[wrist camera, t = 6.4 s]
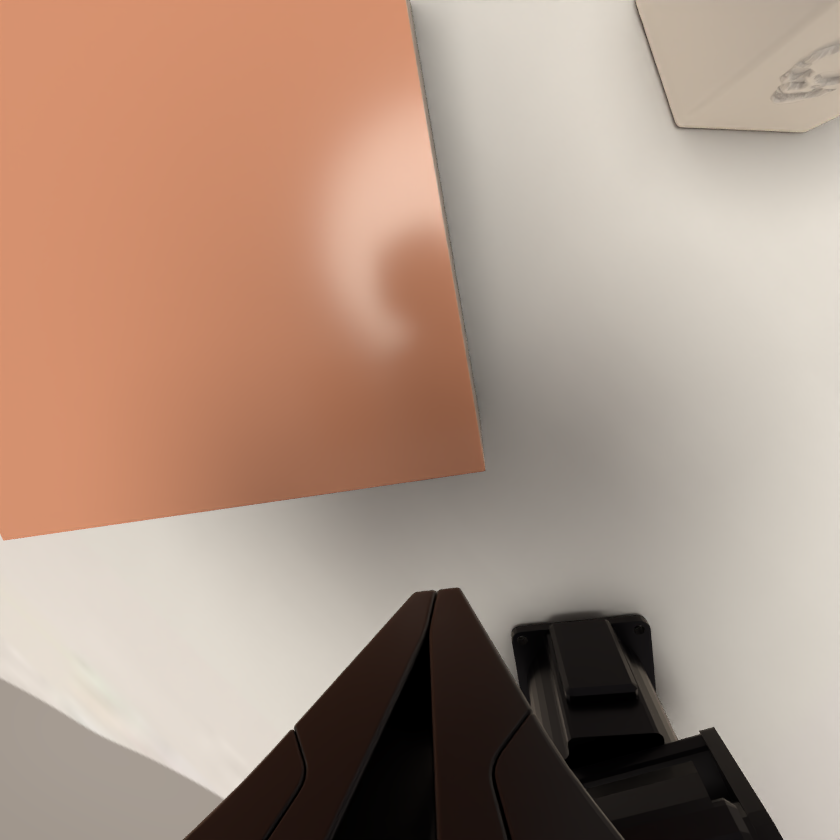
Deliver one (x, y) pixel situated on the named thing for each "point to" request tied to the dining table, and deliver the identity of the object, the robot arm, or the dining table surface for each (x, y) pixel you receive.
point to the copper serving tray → (219, 261)
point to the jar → (747, 61)
